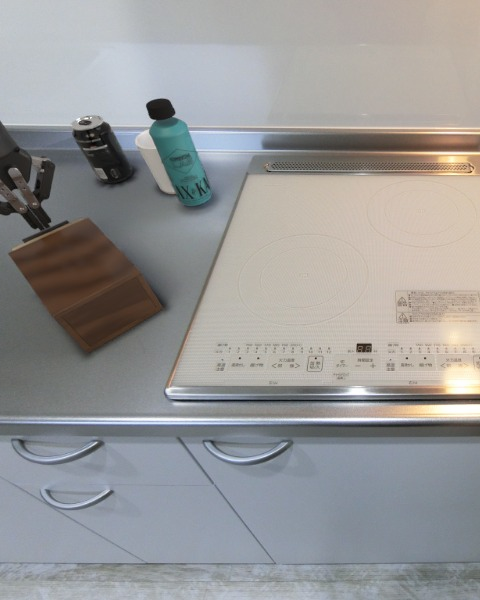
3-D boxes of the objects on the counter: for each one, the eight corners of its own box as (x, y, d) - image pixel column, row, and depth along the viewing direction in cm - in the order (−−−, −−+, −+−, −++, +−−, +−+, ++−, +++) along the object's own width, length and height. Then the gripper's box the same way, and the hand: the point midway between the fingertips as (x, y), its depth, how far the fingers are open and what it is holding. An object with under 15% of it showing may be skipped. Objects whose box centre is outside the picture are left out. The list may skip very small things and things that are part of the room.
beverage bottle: (175, 203, 86) (127, 102, 71) (205, 189, 89) (166, 89, 74) (192, 217, 83) (146, 115, 68) (222, 202, 86) (185, 101, 71)
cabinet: (43, 292, 71) (7, 253, 64) (114, 256, 76) (88, 217, 70) (87, 353, 63) (51, 316, 56) (163, 308, 68) (139, 269, 62)
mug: (210, 184, 91) (192, 137, 83) (167, 201, 87) (145, 154, 79) (187, 162, 96) (169, 117, 88) (147, 178, 92) (123, 131, 84)
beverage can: (114, 165, 95) (85, 111, 86) (141, 170, 94) (114, 116, 85) (92, 183, 91) (58, 128, 82) (120, 188, 90) (88, 133, 81)
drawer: (28, 265, 73) (0, 234, 68) (91, 236, 78) (70, 205, 73) (79, 335, 64) (51, 305, 59) (147, 296, 69) (127, 265, 64)
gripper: (7, 94, 60) (77, 198, 73) (-111, 129, 54) (-11, 236, 67) (26, 111, 57) (96, 217, 70) (-98, 150, 51) (4, 259, 64)
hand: (43, 226), depth 69 cm, fingers closed
